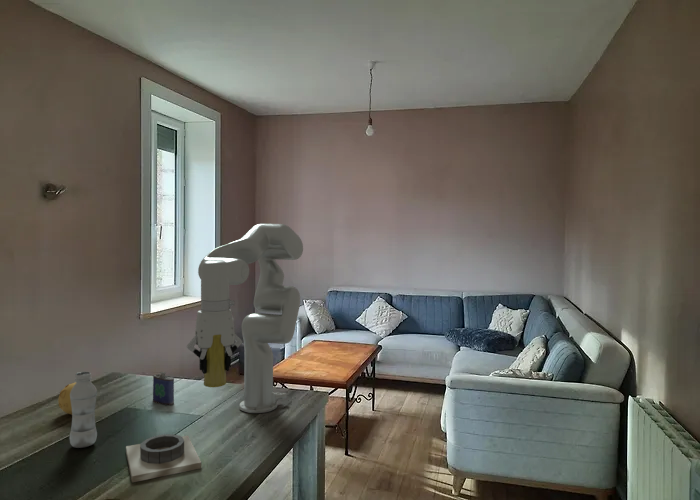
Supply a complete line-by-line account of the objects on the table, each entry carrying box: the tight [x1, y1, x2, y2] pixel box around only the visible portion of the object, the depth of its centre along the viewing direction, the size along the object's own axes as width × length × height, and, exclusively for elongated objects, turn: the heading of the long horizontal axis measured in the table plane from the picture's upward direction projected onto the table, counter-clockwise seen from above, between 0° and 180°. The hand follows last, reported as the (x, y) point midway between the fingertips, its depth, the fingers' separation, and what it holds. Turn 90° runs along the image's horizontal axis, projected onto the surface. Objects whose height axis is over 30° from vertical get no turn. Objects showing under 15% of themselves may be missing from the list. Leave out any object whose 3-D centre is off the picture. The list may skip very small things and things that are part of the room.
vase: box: [203, 334, 227, 388], centre depth 138 cm, size 6×6×14 cm
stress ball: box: [57, 382, 76, 416], centre depth 159 cm, size 10×10×10 cm
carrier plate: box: [125, 433, 202, 483], centre depth 129 cm, size 16×18×4 cm
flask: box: [152, 371, 175, 406], centre depth 171 cm, size 9×3×11 cm, turn 61°
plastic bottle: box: [69, 371, 98, 449], centre depth 136 cm, size 6×7×20 cm
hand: (215, 370), depth 138 cm, fingers closed on vase, 5 cm apart
